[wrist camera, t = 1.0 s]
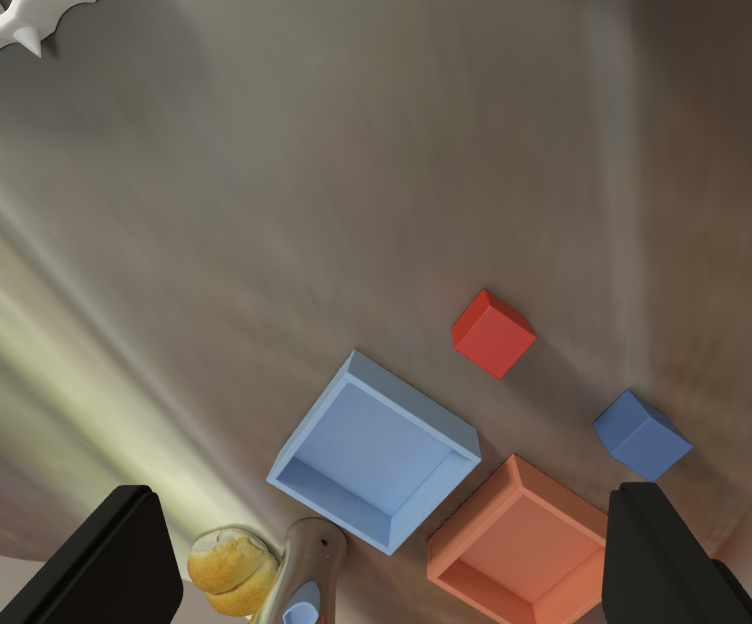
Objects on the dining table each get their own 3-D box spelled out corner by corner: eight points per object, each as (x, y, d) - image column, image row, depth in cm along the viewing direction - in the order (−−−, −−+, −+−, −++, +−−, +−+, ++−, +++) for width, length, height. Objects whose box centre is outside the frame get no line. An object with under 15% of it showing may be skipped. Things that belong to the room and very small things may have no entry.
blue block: (627, 389, 36) (650, 416, 33) (667, 416, 37) (694, 447, 33) (591, 424, 38) (609, 455, 34) (629, 450, 38) (651, 483, 34)
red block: (483, 287, 35) (490, 304, 31) (526, 317, 35) (537, 337, 32) (450, 328, 36) (453, 349, 32) (492, 356, 37) (499, 380, 33)
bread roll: (229, 602, 49) (212, 640, 45) (184, 538, 46) (162, 572, 43) (298, 584, 47) (286, 622, 43) (254, 516, 44) (238, 550, 41)
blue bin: (354, 348, 38) (346, 371, 34) (476, 429, 39) (482, 459, 35) (280, 449, 42) (265, 480, 38) (393, 519, 43) (390, 556, 39)
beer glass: (355, 572, 45) (323, 763, 31) (285, 569, 46) (224, 753, 32) (350, 514, 43) (313, 692, 29) (277, 512, 44) (206, 684, 30)
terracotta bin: (513, 452, 39) (522, 486, 35) (624, 526, 41) (645, 566, 37) (426, 540, 43) (427, 579, 39) (531, 605, 45) (541, 648, 41)
